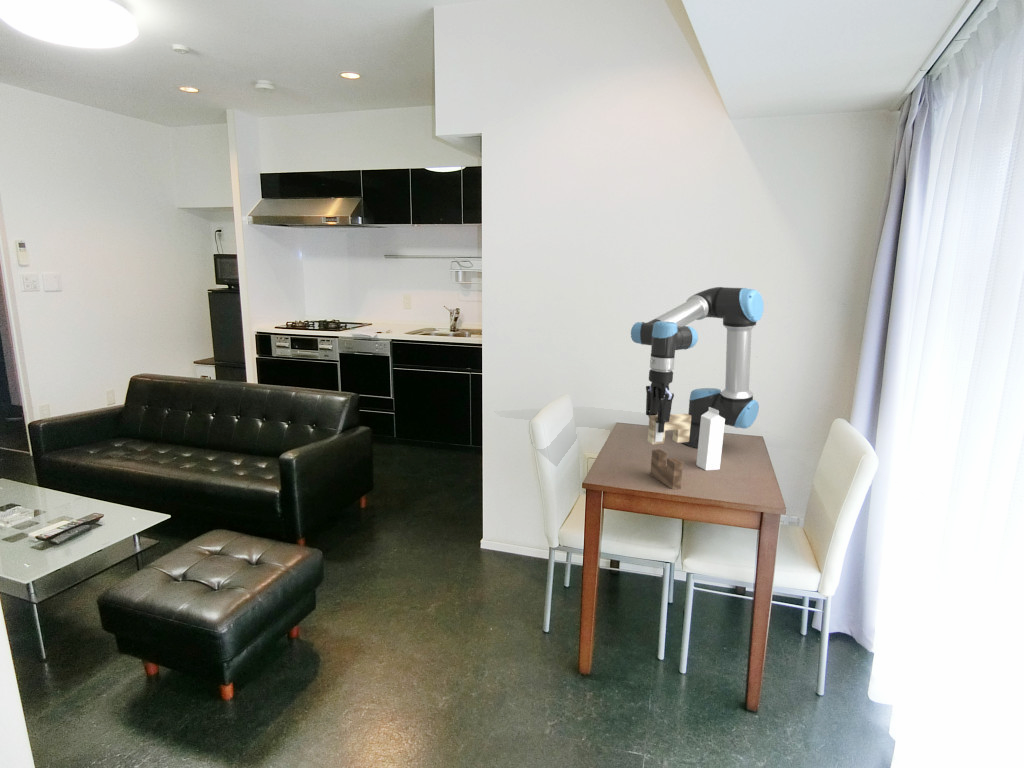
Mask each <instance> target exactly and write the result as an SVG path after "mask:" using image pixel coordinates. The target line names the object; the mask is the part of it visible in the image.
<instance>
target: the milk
mask: <svg viewBox="0 0 1024 768" xmlns="http://www.w3.org/2000/svg"><path fill="white" fill-rule="evenodd" d="M724 432H725V419H724V418H723V417H721V416H720V415H719V411H718V410H716V409H713V408H711V407H709V410H708V411H707V412H706V413H704V414H703V415H701V422H700V432H699V442H698V448H697V454H696V466H697V467H699V468H700V469H702V470H704V471H715V470H716V471H717V470H721V463H722V462H721V461H722V454H723V452H722V451H723V442H724Z"/></svg>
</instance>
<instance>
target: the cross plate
mask: <svg viewBox="0 0 1024 768" xmlns="http://www.w3.org/2000/svg"><path fill="white" fill-rule="evenodd" d="M656 421H658V414H657V415H650V417H649V416H648V428H647V429H648V430H647V443H649V444H651V445H662V444H665V438H666V431H672V441H673V442H676V443H678V444H679V443H682V442H689V437H690V427H691V415H688V413H675V414H674V413H673V414H672V413H670V420H669V422H665V424H664V432H663V442H655V441H654V438H655V426H656Z"/></svg>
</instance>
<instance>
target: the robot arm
mask: <svg viewBox="0 0 1024 768" xmlns="http://www.w3.org/2000/svg"><path fill="white" fill-rule="evenodd" d="M764 310H765V309H764V299H763V297H762V294H761V293H760V292H759V290H756V289H754V288H753V289H752V288H746V287H723V286H717V287H711V288H708V289H705V290H702V291H700V292H697V293H695V294H693V295H691V296H689V297H688V298H687V300H686V302H684V303H682V304H680V305H678V306H676V307H675V308H672V309H670V310H669V311H666V312H665V313H663V314H661V315H659V316H657V317H655V318H654V319H651V320H649V321H647V322H644V321H639V322H635V323H634V324H633V325H632V327H631V329H630V338H631V340H632V341H633V342H634V343H635V344H640V345H643V346H644V345H646V346H651V347H650V349H651V350H650V359H649V368H650V370H649V371H648V381H649V382H651V383H650V385H645V391H646V396H645V397H646V401H645V405H646V406H645V415H646V416H648V418H649V417H650V415H658V421H656V426H655V438H654V441H655V442H663V432H664V424H665V422H669V420H670V414H672V412H671V411H672V404H673V400H674V397H675V394H674V392H673V393H672V392H671V391H670V384H671V383H672V382H673V378H674V372H673V370H674V369H675V355H676V351H680V350H681V351H682V350H688V349H691V348H693V347H695V346H696V344H697V342H698V339H699V335H698V332H697V330H696V329H695V328H694V327H692V326H687V325H688V324H691V323H692V322H694V321H696V320H697V321H700V320H704V319H705V318H715V319H716V318H718V319H722V325H723V327H724V328H726V352H725V355H726V356H725V382H724V383H725V387H724V389H723V390H721V389H720V388H714V387H712V388H711V387H710V388H709V387H708V388H707V387H704V388H696V389H695V388H694V389H692V391H691V392H690V394H689V400H688V413H687V414H688V415H691V427H690V437H689V442H681V443H682V444H684V445H685V446H687V447H691V448H696V449H698V442H699V432H700V422H701V415H703V414H704V413H706V412H707V411H708V410H709V407H711V408H713V409H716V410H718V411H719V415H720V416H721V417H723V418H724V419H725V425H726V426H730V427H733V428H737V429H739V428H740V429H749V428H750V427H751V426H752V425H753V424H754V422H755V421H756V419H757V416H758V414H759V408H760V404H759V402H758V400H756V399H754V393H753V392H752V391H751V390H750V374H751V349H752V347H751V345H752V330H753V328H755V327H756V326H757V322H759V321H760V320H761V319H762V317H763V314H764ZM725 425H724V426H725Z"/></svg>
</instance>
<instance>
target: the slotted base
mask: <svg viewBox="0 0 1024 768" xmlns="http://www.w3.org/2000/svg"><path fill="white" fill-rule="evenodd" d="M667 457H668V453H667V452H666V451H665V450H662V449H658V448H657V449H652V450H651V461H650V462H651V463H650V472H649V474H650V475H651V476H652V477H654V478H655V479H656V480H658V481H659V482H661V483H662V484H664V485H665V486H667V487H668V488H669V489H671V490H677V489H680V490H681V487H682V479H683V478H682V477H683V467H684V465H683V464H684V461H681V460H679V459H678V458H676V457H669V458H667Z"/></svg>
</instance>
